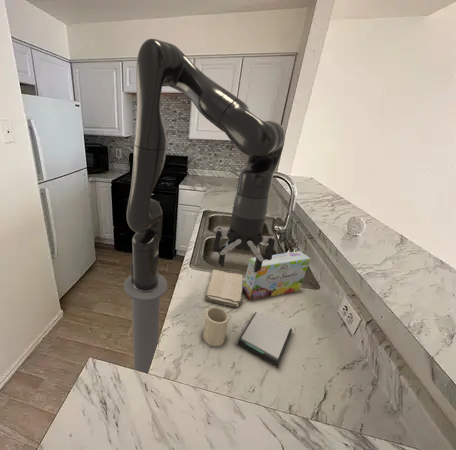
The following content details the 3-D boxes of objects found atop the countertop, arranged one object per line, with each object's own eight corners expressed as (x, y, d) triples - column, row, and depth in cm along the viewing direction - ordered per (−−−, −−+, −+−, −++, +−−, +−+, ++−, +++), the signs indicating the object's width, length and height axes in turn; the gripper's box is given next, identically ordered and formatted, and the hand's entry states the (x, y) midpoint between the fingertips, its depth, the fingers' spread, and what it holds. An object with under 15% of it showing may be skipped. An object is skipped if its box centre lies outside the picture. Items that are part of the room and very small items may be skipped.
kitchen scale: (237, 345, 73) (238, 338, 72) (254, 316, 83) (256, 309, 82) (277, 367, 67) (279, 360, 66) (290, 333, 77) (293, 327, 76)
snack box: (250, 302, 89) (258, 266, 82) (241, 291, 94) (248, 257, 87) (300, 291, 94) (311, 257, 88) (289, 282, 99) (299, 249, 92)
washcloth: (204, 301, 89) (205, 295, 87) (211, 272, 104) (212, 266, 103) (240, 310, 85) (241, 303, 84) (241, 278, 101) (243, 272, 99)
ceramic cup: (199, 338, 75) (202, 315, 71) (209, 325, 79) (212, 303, 75) (218, 350, 71) (222, 327, 67) (227, 336, 76) (232, 313, 72)
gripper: (279, 209, 62) (265, 264, 69) (219, 202, 65) (212, 256, 72) (284, 221, 55) (268, 281, 63) (217, 214, 59) (210, 271, 66)
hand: (238, 267), depth 67 cm, fingers open, 8 cm apart
